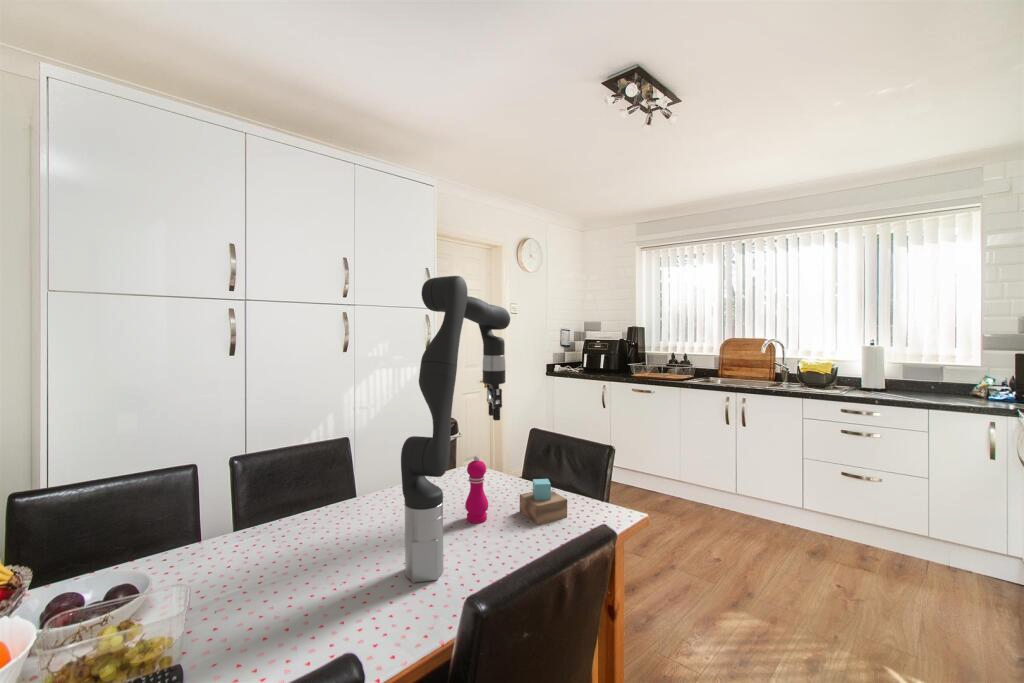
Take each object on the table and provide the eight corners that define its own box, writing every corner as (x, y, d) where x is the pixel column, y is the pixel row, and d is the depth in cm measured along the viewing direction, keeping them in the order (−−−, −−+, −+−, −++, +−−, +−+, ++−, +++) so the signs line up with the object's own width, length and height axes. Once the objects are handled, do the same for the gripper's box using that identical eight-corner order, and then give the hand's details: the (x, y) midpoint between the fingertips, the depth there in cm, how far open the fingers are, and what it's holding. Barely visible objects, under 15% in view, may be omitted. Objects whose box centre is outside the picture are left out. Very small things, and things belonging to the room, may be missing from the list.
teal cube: (550, 499, 145) (550, 483, 145) (535, 500, 145) (535, 484, 145) (547, 493, 150) (547, 478, 150) (532, 494, 150) (532, 479, 150)
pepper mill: (490, 515, 148) (489, 453, 147) (486, 524, 140) (486, 459, 140) (467, 514, 148) (467, 452, 148) (463, 523, 141) (462, 458, 140)
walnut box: (567, 518, 146) (567, 499, 146) (537, 525, 141) (537, 506, 140) (547, 506, 155) (547, 488, 155) (519, 512, 150) (519, 494, 150)
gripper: (509, 370, 146) (509, 421, 147) (501, 366, 160) (501, 413, 160) (486, 371, 144) (486, 422, 145) (479, 367, 158) (479, 414, 159)
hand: (494, 417), depth 153 cm, fingers open, 8 cm apart
